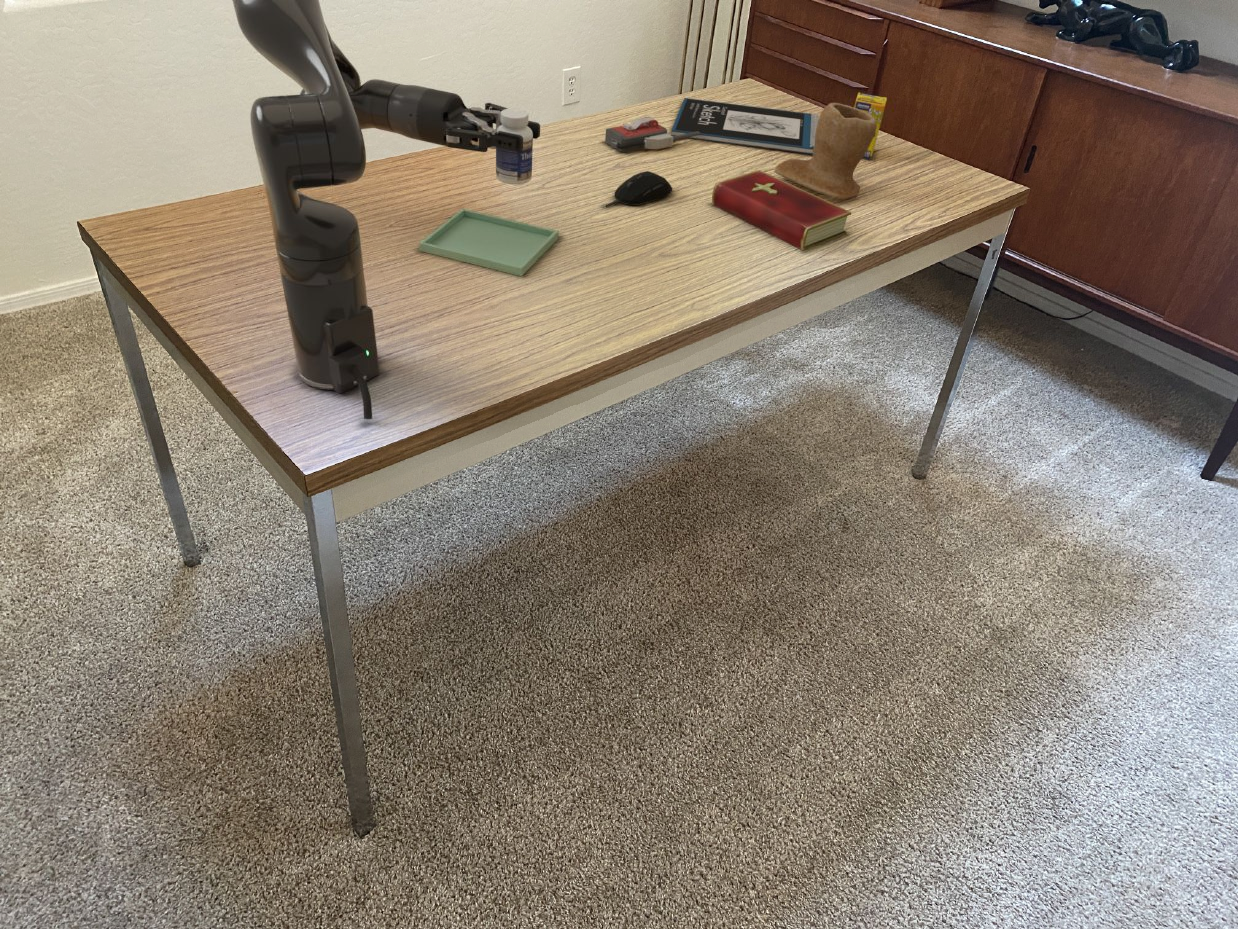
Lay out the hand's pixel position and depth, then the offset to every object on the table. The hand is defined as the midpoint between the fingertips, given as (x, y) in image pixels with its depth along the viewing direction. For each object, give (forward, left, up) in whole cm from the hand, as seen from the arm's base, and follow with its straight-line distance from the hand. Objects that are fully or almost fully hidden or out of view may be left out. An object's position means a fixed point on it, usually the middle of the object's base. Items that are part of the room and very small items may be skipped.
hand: (530, 137), depth 130 cm
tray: (+5, +4, -18) cm, 19 cm away
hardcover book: (-21, -40, -18) cm, 49 cm away
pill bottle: (+2, +1, -7) cm, 7 cm away
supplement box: (-15, -81, -18) cm, 85 cm away
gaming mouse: (+1, -28, -18) cm, 34 cm away
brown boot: (-19, -59, -18) cm, 65 cm away
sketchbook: (+8, -74, -18) cm, 77 cm away
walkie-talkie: (+16, -51, -18) cm, 57 cm away
